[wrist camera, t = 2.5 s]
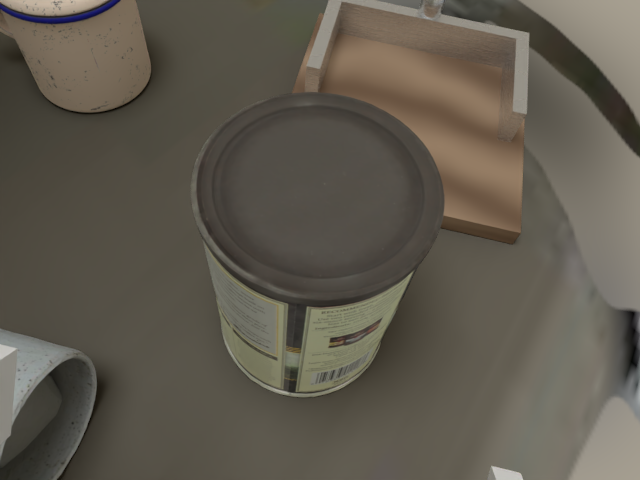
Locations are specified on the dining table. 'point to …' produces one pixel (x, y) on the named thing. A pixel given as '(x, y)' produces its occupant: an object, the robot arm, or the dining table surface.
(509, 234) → the board
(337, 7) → the keeper cradle
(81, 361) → the ceramic mug
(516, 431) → the dining table surface
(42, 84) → the teacup with lid
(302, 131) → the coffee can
